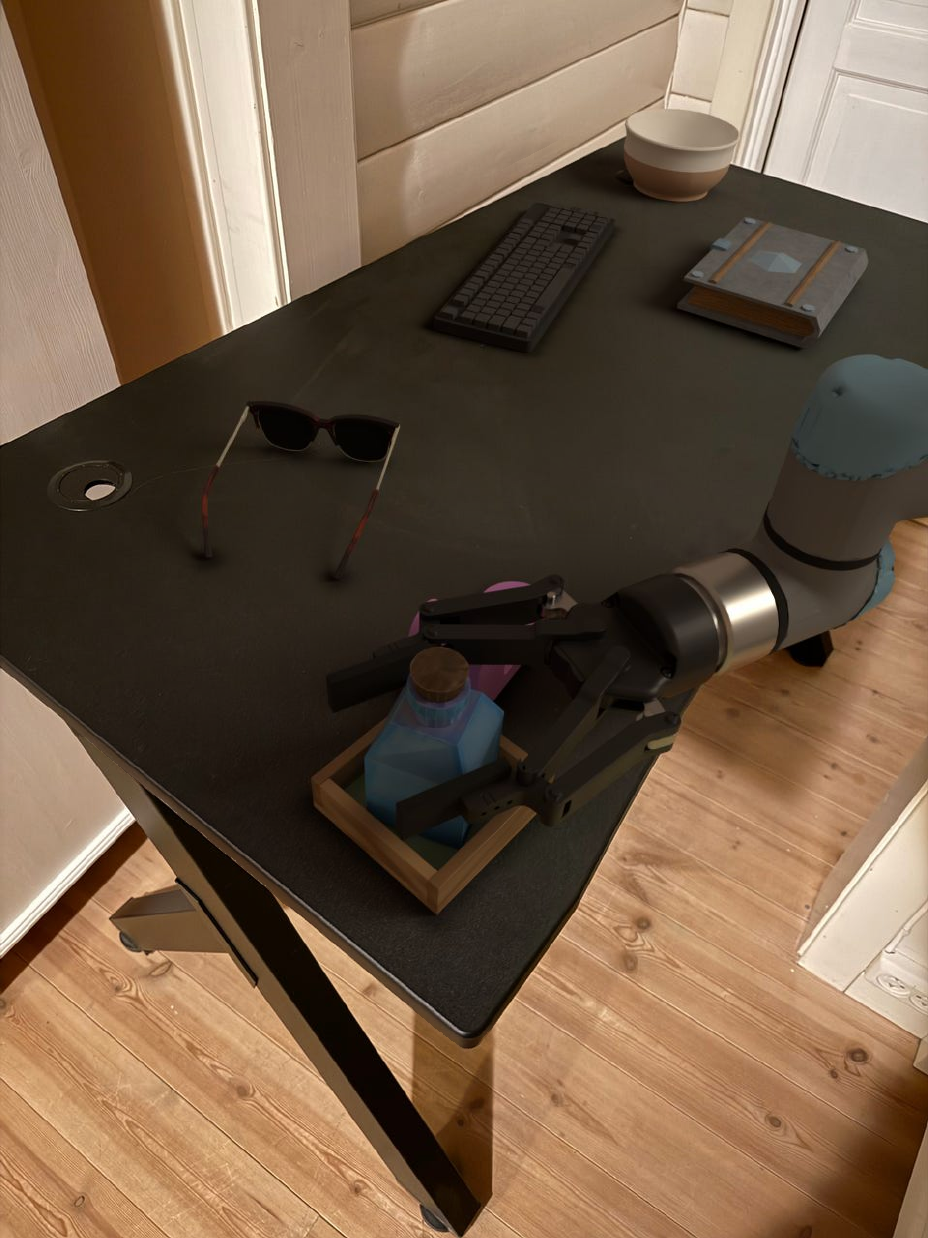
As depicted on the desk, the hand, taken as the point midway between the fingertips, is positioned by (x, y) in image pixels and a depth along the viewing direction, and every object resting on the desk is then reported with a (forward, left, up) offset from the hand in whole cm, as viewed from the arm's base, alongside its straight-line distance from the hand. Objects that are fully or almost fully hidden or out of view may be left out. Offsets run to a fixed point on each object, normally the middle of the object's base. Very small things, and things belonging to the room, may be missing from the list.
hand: (362, 755), depth 50 cm
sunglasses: (+26, -18, -8) cm, 33 cm away
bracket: (+4, -17, -8) cm, 19 cm away
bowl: (+44, -104, -8) cm, 113 cm away
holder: (-2, -4, -8) cm, 9 cm away
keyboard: (+40, -67, -8) cm, 78 cm away
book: (+17, -84, -8) cm, 86 cm away
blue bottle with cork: (-2, -4, -7) cm, 9 cm away
